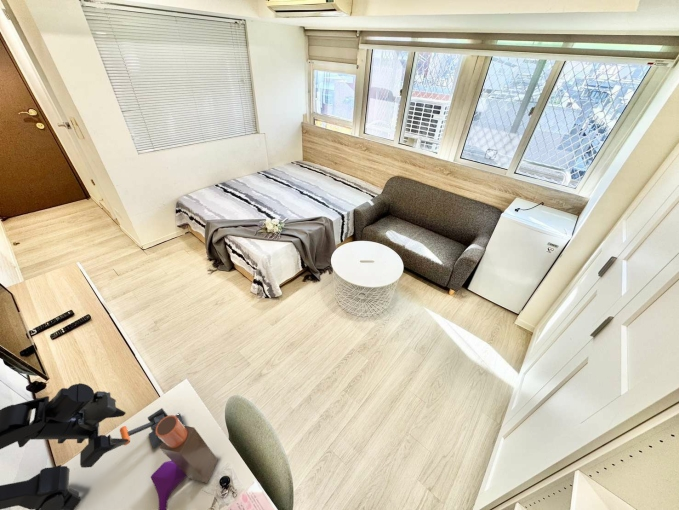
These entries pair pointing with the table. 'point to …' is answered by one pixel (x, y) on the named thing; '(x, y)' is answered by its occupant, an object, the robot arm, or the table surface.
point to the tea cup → (171, 431)
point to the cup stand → (193, 456)
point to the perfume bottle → (166, 481)
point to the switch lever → (126, 434)
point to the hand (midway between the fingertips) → (125, 427)
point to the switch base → (153, 437)
